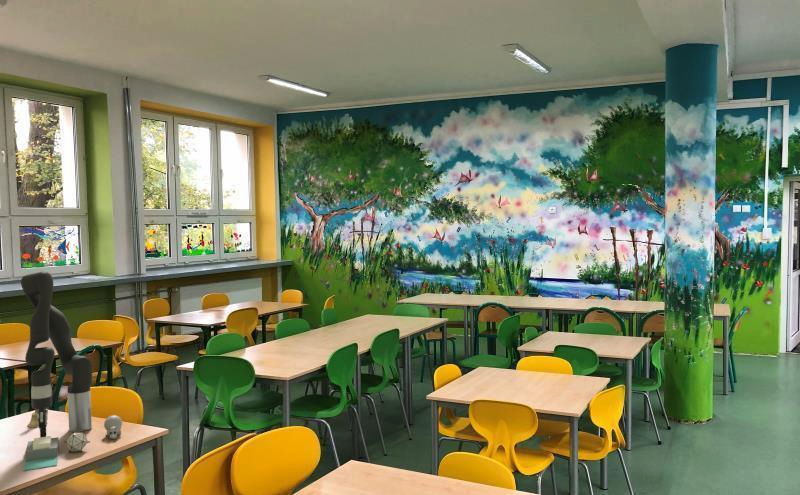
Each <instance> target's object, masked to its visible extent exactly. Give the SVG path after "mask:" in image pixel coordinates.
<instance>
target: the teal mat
mask: <svg viewBox="0 0 800 495" xmlns="http://www.w3.org/2000/svg"><path fill="white" fill-rule="evenodd" d="M24 462H25V463H24V467H23V471H24V472H26V471H34V470H37V469H38V470H39V469H46V468H51V467H56V466H57V465H58V457H53V458H47V459H40V460H34V461H27V462H26V461H24Z"/></svg>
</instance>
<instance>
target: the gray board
mask: <svg viewBox="0 0 800 495" xmlns="http://www.w3.org/2000/svg"><path fill="white" fill-rule="evenodd" d="M59 439H60V438H59V436H58V437H51V446H50V448H43V449H36V450H33V442H34V440H30V441H27V443H26V444H27V445H26V448H25V452H24V453H25V454H24V455H25V462H27V461H34V460H40V459H47V458H53V457H57V458H59V457H58V456H59V448H60V444H59V442H60V441H59Z"/></svg>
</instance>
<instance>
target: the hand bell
mask: <svg viewBox="0 0 800 495" xmlns="http://www.w3.org/2000/svg"><path fill="white" fill-rule="evenodd" d="M34 410H35V411H33V412H32V414H31V418H30V421H29V423H27V427H28V428H39V424H38V417H37V411H39V409H34ZM48 422H49V421H47V424H46V425H48Z"/></svg>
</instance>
